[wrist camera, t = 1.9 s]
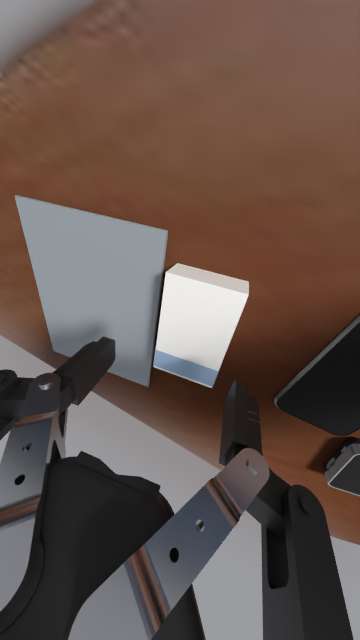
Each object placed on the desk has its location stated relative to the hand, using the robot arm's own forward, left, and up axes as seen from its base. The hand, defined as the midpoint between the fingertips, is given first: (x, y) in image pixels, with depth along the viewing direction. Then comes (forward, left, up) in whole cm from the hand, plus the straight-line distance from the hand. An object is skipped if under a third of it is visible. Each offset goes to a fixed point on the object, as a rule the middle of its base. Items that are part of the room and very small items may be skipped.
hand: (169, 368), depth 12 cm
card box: (-1, 0, -7) cm, 7 cm away
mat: (+10, +2, -7) cm, 12 cm away
